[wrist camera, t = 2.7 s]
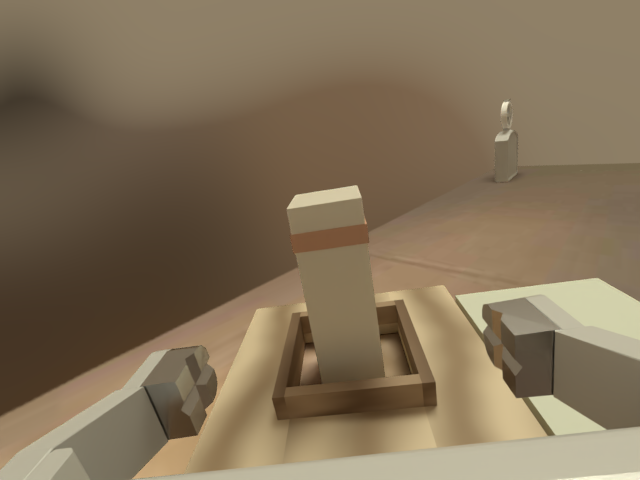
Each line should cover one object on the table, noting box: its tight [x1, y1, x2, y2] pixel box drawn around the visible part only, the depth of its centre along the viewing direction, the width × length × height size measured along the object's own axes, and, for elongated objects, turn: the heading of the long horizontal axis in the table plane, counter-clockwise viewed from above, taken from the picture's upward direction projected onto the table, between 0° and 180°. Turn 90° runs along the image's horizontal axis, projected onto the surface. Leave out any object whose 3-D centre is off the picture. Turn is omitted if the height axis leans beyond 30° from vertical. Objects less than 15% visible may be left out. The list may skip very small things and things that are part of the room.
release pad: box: [455, 278, 640, 436], centre depth 24 cm, size 13×16×1 cm
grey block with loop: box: [495, 99, 518, 182], centre depth 78 cm, size 3×9×18 cm, turn 139°
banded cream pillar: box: [286, 185, 385, 384], centre depth 24 cm, size 5×5×14 cm
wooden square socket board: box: [184, 285, 548, 474], centre depth 25 cm, size 20×20×3 cm
